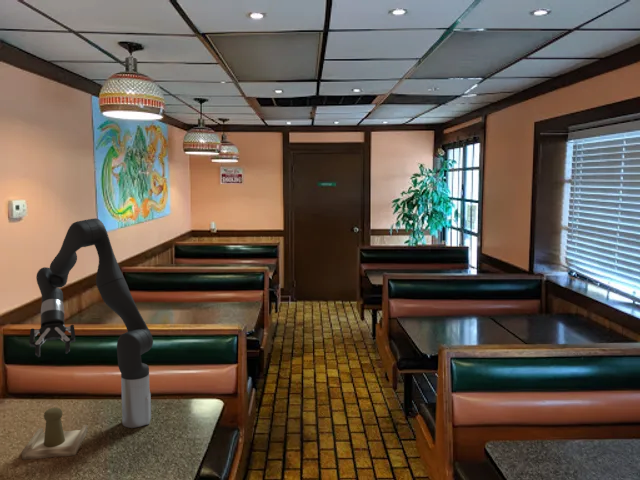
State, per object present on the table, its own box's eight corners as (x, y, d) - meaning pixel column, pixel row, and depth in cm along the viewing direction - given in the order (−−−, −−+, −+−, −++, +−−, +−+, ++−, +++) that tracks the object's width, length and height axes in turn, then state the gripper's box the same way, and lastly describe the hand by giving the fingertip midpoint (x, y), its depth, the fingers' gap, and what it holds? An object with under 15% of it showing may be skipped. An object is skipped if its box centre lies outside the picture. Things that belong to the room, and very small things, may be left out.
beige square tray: (87, 431, 168) (87, 424, 167) (75, 455, 153) (74, 447, 153) (39, 435, 165) (39, 428, 164) (21, 459, 150) (21, 451, 150)
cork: (69, 437, 162) (67, 405, 160) (57, 447, 156) (56, 414, 154) (51, 436, 162) (50, 404, 161) (39, 446, 156) (37, 413, 155)
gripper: (29, 310, 175) (28, 352, 166) (74, 306, 181) (75, 346, 172) (31, 321, 180) (30, 362, 171) (74, 317, 186) (76, 356, 177)
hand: (53, 354), depth 171 cm, fingers open, 8 cm apart
